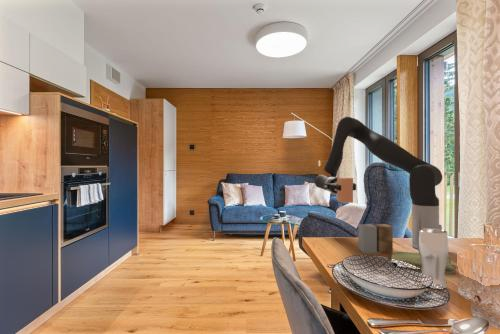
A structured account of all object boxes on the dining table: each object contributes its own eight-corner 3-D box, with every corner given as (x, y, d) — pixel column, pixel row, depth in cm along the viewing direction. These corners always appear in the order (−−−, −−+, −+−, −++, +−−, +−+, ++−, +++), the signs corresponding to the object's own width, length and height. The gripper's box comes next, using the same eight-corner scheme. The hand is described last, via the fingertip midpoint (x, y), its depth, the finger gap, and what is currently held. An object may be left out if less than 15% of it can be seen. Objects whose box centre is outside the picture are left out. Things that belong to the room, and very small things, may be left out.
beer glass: (439, 280, 80) (439, 228, 80) (454, 291, 73) (454, 233, 73) (413, 279, 81) (413, 227, 81) (426, 290, 74) (426, 233, 74)
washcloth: (391, 256, 103) (391, 247, 103) (450, 264, 94) (450, 254, 94) (390, 267, 91) (390, 258, 91) (456, 277, 83) (456, 267, 83)
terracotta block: (348, 200, 120) (348, 177, 120) (353, 202, 116) (353, 178, 115) (337, 200, 120) (337, 177, 120) (340, 202, 115) (340, 178, 115)
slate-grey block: (371, 249, 110) (370, 224, 110) (376, 253, 105) (376, 226, 105) (358, 249, 110) (358, 224, 110) (363, 253, 105) (363, 226, 105)
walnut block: (386, 249, 110) (386, 223, 110) (392, 253, 105) (392, 226, 105) (373, 249, 110) (373, 224, 110) (379, 253, 105) (379, 226, 105)
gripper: (319, 177, 132) (329, 178, 115) (349, 177, 132) (364, 178, 115) (319, 192, 132) (329, 197, 115) (349, 192, 132) (364, 196, 115)
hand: (347, 187), depth 115 cm, fingers closed on terracotta block, 5 cm apart
